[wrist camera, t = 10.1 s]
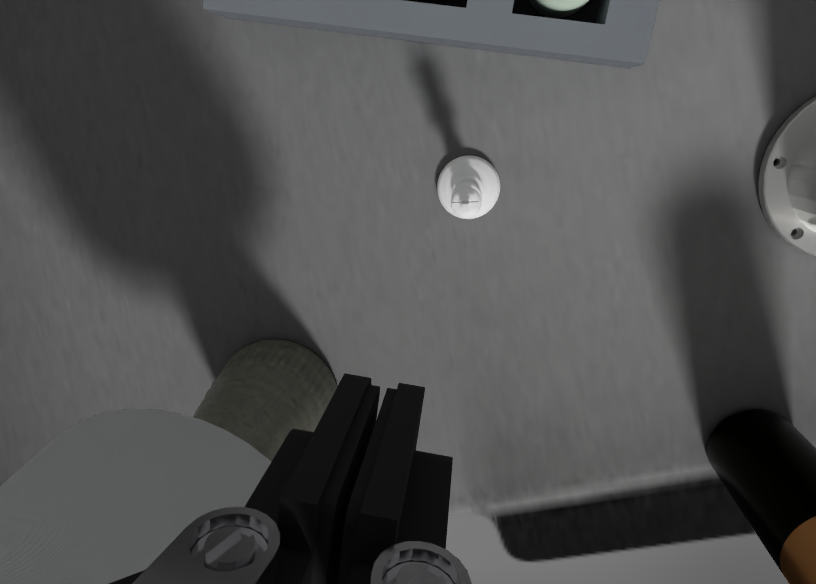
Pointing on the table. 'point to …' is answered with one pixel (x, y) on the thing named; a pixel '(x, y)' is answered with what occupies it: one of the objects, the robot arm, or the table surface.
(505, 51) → the board
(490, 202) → the chess piece
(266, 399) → the lamp
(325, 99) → the table surface
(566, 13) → the button
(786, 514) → the battery
